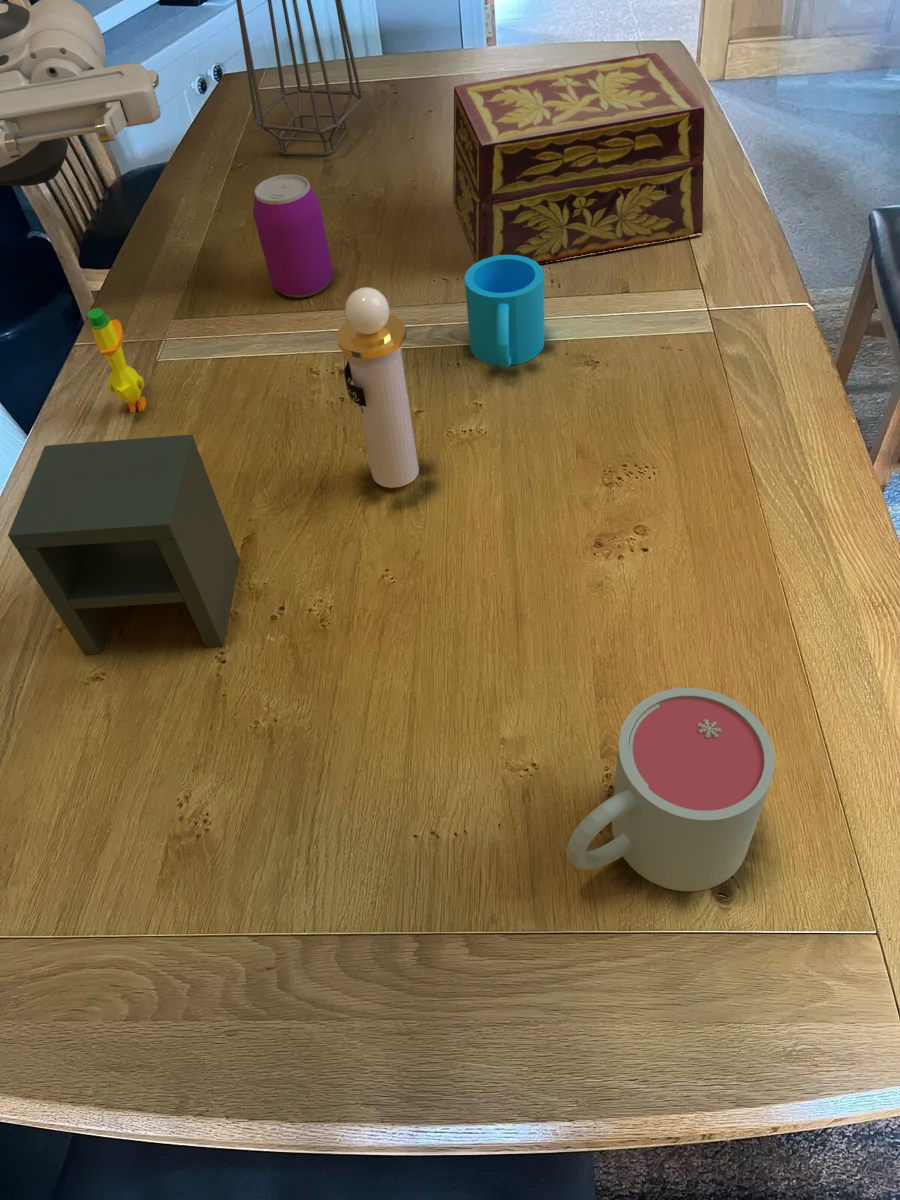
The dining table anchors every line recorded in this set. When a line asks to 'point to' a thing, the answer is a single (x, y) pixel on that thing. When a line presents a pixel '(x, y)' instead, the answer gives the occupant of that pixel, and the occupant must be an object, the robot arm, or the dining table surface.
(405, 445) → the perfume bottle
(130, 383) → the toy figure
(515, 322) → the mug
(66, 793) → the dining table surface
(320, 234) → the beverage can
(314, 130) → the geometric lantern
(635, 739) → the mug
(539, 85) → the decorative box
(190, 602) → the shelf
